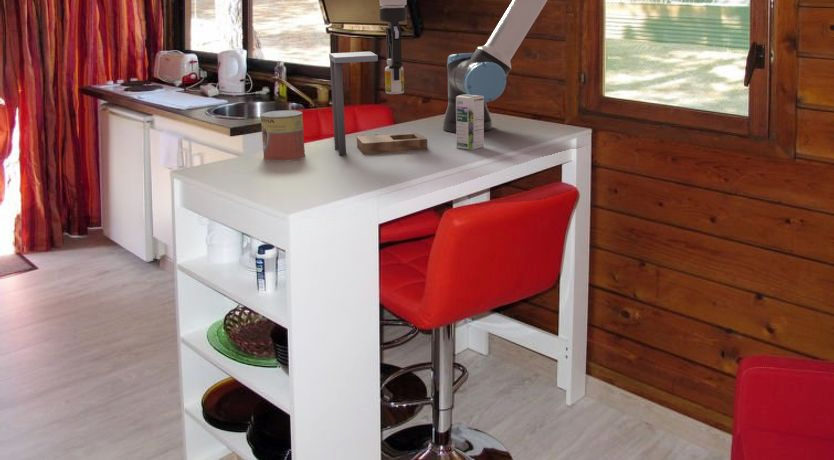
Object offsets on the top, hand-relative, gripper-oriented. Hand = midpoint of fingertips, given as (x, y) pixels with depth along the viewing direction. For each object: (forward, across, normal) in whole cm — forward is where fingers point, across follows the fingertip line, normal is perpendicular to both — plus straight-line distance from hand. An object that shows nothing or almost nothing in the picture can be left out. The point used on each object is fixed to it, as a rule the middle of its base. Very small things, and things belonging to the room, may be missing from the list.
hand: (394, 90), depth 264 cm
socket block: (+15, +8, -2) cm, 17 cm away
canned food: (+16, +12, -32) cm, 38 cm away
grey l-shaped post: (+15, +9, -12) cm, 21 cm away
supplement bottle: (+1, 0, 0) cm, 1 cm away
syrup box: (+15, +14, +19) cm, 28 cm away
